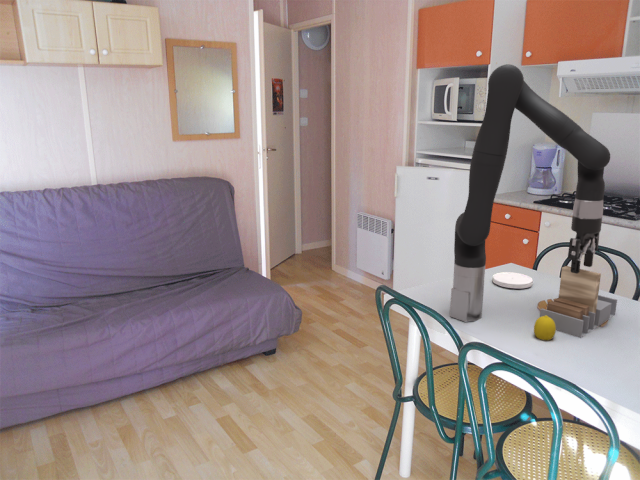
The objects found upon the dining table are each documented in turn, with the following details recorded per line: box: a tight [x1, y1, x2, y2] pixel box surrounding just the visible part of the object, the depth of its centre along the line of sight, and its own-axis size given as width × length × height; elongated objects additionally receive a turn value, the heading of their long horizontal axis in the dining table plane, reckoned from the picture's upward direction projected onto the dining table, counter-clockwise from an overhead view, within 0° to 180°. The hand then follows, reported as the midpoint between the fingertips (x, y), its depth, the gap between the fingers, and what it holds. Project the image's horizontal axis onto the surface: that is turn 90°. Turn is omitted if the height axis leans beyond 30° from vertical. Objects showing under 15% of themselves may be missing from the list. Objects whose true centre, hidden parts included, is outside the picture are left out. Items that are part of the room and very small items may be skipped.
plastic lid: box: [491, 271, 534, 289], centre depth 190 cm, size 14×14×2 cm
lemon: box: [533, 315, 557, 341], centre depth 143 cm, size 6×6×8 cm
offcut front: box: [546, 300, 583, 320], centre depth 148 cm, size 2×9×7 cm, turn 41°
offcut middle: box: [553, 297, 589, 316], centre depth 150 cm, size 2×9×7 cm, turn 41°
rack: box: [539, 294, 618, 339], centre depth 154 cm, size 24×12×6 cm, turn 131°
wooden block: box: [558, 265, 602, 323], centre depth 151 cm, size 2×10×16 cm, turn 41°
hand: (581, 269), depth 149 cm, fingers open, 8 cm apart
